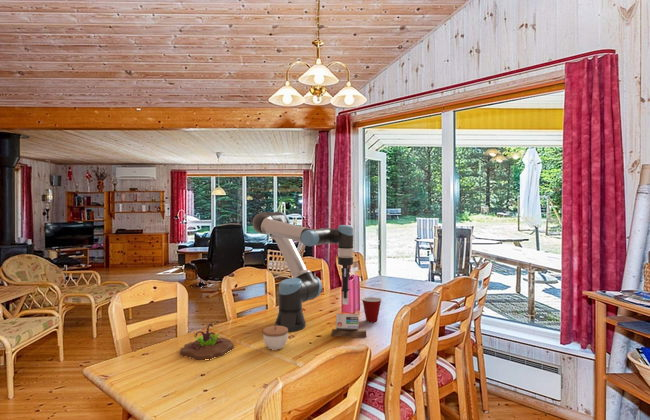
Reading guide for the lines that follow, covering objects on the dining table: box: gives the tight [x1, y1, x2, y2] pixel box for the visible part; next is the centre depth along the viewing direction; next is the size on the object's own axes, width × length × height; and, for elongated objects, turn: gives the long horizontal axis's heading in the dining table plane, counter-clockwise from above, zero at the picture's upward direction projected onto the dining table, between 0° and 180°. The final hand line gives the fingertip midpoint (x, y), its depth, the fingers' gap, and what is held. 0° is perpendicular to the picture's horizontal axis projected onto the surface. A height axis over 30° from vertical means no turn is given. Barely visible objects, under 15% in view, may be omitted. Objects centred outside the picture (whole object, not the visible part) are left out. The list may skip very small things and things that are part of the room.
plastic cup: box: [361, 296, 383, 323], centre depth 191 cm, size 11×11×12 cm
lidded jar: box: [262, 325, 289, 351], centre depth 156 cm, size 11×11×9 cm
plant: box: [179, 322, 235, 361], centre depth 153 cm, size 20×20×11 cm
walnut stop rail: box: [331, 328, 367, 338], centre depth 169 cm, size 16×2×2 cm, turn 84°
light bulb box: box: [335, 313, 360, 330], centre depth 172 cm, size 11×7×11 cm
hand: (345, 304), depth 178 cm, fingers closed
